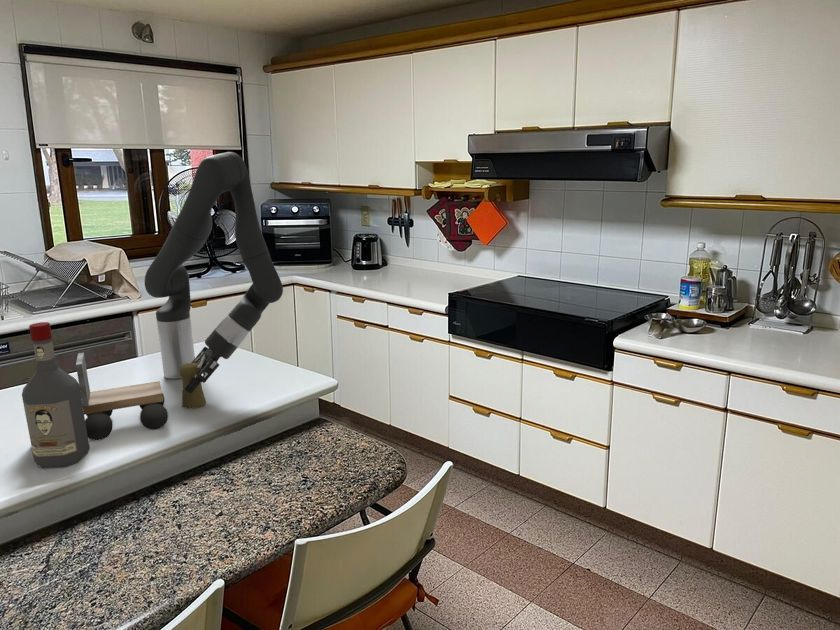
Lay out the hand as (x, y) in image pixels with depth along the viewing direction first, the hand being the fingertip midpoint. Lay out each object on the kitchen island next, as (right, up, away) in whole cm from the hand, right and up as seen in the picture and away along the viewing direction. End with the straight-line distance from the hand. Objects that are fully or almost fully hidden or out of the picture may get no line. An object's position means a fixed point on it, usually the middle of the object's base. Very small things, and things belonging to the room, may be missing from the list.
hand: (185, 386), depth 166 cm
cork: (+2, -5, +2) cm, 5 cm away
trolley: (-10, -8, -10) cm, 16 cm away
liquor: (-16, -13, -27) cm, 34 cm away
